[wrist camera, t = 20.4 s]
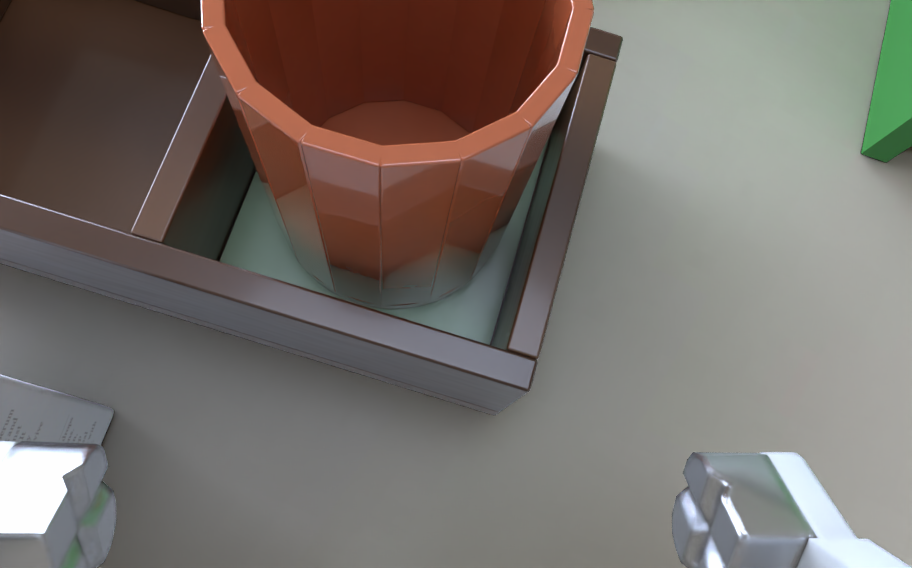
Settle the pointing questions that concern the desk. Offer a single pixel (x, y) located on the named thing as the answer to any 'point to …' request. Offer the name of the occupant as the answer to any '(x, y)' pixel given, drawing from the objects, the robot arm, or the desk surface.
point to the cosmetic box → (49, 415)
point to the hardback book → (892, 89)
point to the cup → (395, 127)
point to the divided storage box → (247, 204)
